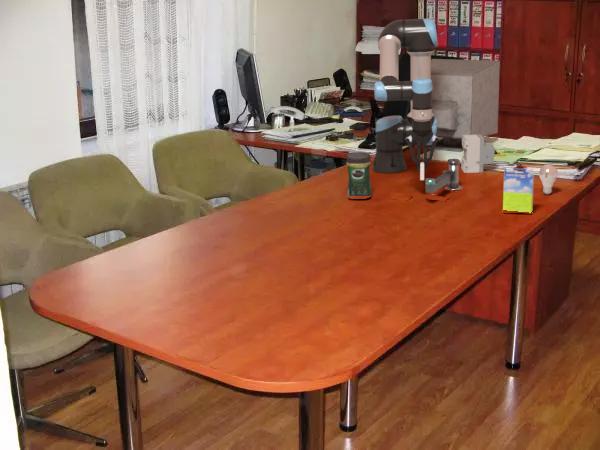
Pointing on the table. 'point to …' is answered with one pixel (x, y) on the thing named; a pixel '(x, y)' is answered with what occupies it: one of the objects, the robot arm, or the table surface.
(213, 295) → the table surface
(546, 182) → the light bulb
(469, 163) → the circuit breaker
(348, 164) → the coffee jar
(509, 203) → the box
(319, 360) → the table surface
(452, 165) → the post
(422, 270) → the table surface
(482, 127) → the crt monitor
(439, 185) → the swing bar
